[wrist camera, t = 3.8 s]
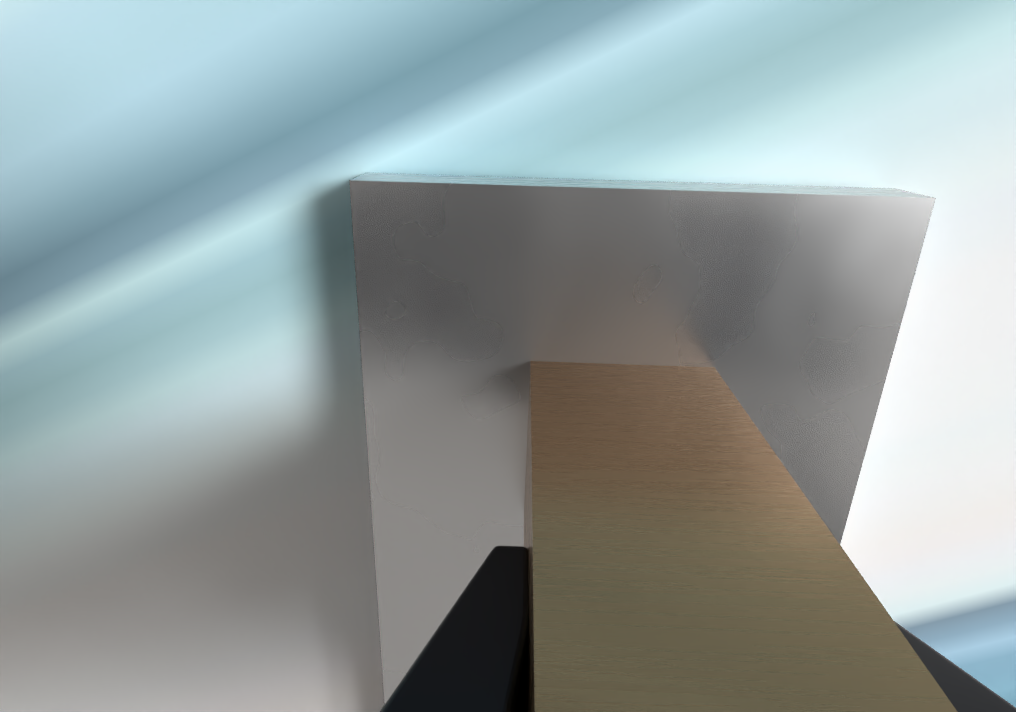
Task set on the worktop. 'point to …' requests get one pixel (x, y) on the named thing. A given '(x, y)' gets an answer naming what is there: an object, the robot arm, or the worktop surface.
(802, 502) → the metal bookend
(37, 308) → the worktop surface
